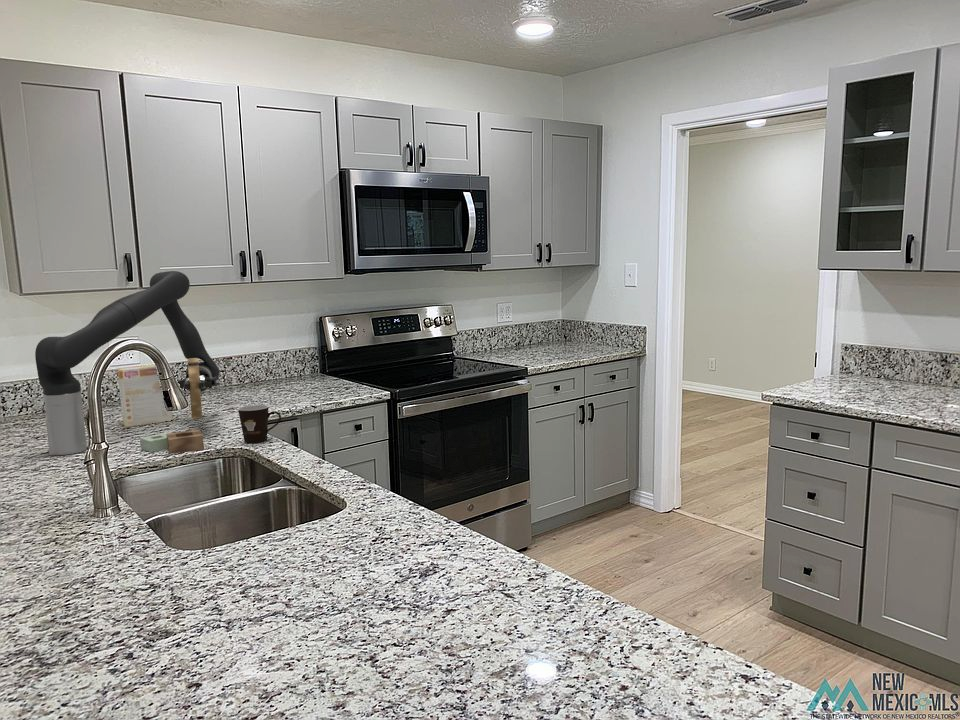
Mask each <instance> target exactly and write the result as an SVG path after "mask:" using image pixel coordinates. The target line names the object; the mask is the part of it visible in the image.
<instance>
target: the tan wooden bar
mask: <svg viewBox="0 0 960 720" xmlns="http://www.w3.org/2000/svg"><path fill="white" fill-rule="evenodd" d="M199 363H200V361H199V359H198V358H189V359H187V368H188V372H189V385H190V390H189V397H190V399H189V400H190V412H191V419H194V420H195V419H201V418H203V409H202V408H203V407H202V392H201V391H200V389H199V381H200V376H199Z"/></svg>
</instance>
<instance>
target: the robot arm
mask: <svg viewBox="0 0 960 720" xmlns="http://www.w3.org/2000/svg"><path fill="white" fill-rule="evenodd" d="M190 283H191V282H190V280H189V278H188V276H187V275H186V274H185V273H183V272H181V271H176V270H171V271H170V270H169V271H163V272H157V273H154V274H153V275H152V276H151V278H150V280H149V287H148V288H145V289H142V290H140V291H137V292H133V293H132V294H129V295H127V296H123V297H120V298H118V299H116V300H114V301H113V302H111V303H109V304H108V305H106V306H104V307H103V308H101V309H100V310H99V311H98V312H97V313H96V315H94V317H93V319H91V321H90V322H89V323H88V324H87V325H85V326H84V327H83V328H80V329H79V330H76V331H75V332H73V333H71V334H69V335H64V336H48V337H47V336H46V337H45V338H42V339H41V340H40V341H39V342H38V343H37V344H36V347H35V353H34V356H35V366H36V371H37V377H38V382H39V384H40V387H41V388H42V391H43V398H44V406H45V407H44V408H45V417H46V422H45V424H46V432H47V433H46V435H47V443H48V451H49V456H65V455H73V454H77V453H82V452H85V451H87V450H88V446H87V445H88V443H87V442H88V441H87V437H86V427H85V426H86V425H85V418H84V408H83V405H84V404H83V397H82V396H83V395H82V389H81V382H80V381H79V380H78V378H76V377H74V375H73V373H72V370H71V369H73V368H75V367H76V366H78V365H80V364H81V363H82V362H83V361H85V360H86V359H87V358H88V357H89V356H91V355H92V354H93V353H94V352H96V351H97V350H98V349H100V348H101V347H103V346H104V345H106V344H108V343H110V342H111V341H113V340H114V339H116V338H118V337H120V336H121V335H122V334H124V333H126V332H127V331H129V330H131V329H132V328H134V327H136V326H137V325H138V324H139V323H141V322H142V321H144V320H146V319H148V318H149V317H151V316H152V315H154V313H156V312H157V311H159V310H161V311H162V312H163V315H164V316H165V318H166V320H167V321H168V322H169V324H170V326H171V329H172V330H173V332H174V334H175V336H176V339H177V341H178V343H179V346H180V349H181V352H182V354H183V356H184V358H185V359H186V360H188V359H189V358H198V360H201V362H199V376H200V381H199V389H200V391H201V393H202V392H204V391H206V390H208V388H214V387H216V386H219V385H220V369H219V366H218V365H217V363H216V362H215V361H214V359H213V358H212V357H211V356H210V355H209V353H208V351H207V350H206V348H205V346H204V342H203V340H202V338H201V335H200V333H199V331H198V329H197V327H196V326H195V324H194V323H193V322H192V321H191V319H190V318H189V317H187V315H186V314H185V312H184V311H183V310H182V308H181V306H180V303H179V300H180V299H182V298H184V297H185V296H186V295H187V293H188V292H189V290H190V286H191V285H190ZM176 379H177V378H176ZM177 381H178V383H179V384H180V386H181V388H182V389H181V390H183V389H184V390H185V389H186V391H190V385H189V372H188V367H187V368H186V369H185V377H184V378H182V379H177Z"/></svg>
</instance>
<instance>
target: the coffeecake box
mask: <svg viewBox="0 0 960 720" xmlns="http://www.w3.org/2000/svg"><path fill="white" fill-rule="evenodd" d="M117 377H118V379H117V381H118V388H119V398H120V399H119V400H120V408H121V416H122V423H123V426H124V427H125V428H128V427H129V428H130V427H137V426H143V425H144V426H146V425H151V424H152V423H153V424H160V423H166V422H165V421H168V422H172V421H171V420H173V419H174V418H173V410H172V411H167V410H166V408H165V405H164V401H163V397H162V391H161V388H160V384H159V379H158V376H157V369H156V366H155V364H148V365H136V366H128V367H117ZM153 424H152V425H153Z"/></svg>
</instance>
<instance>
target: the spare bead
mask: <svg viewBox="0 0 960 720" xmlns="http://www.w3.org/2000/svg"><path fill="white" fill-rule="evenodd" d="M166 434H167V433H164V432H163V433H160V434H153V435H148V436H143V437H140V438H139V444H140V450H143V449H144V450H143V451H147V452H148V451H149V453H155V452H159V451H164V450H168V442H167V435H166Z"/></svg>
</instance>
